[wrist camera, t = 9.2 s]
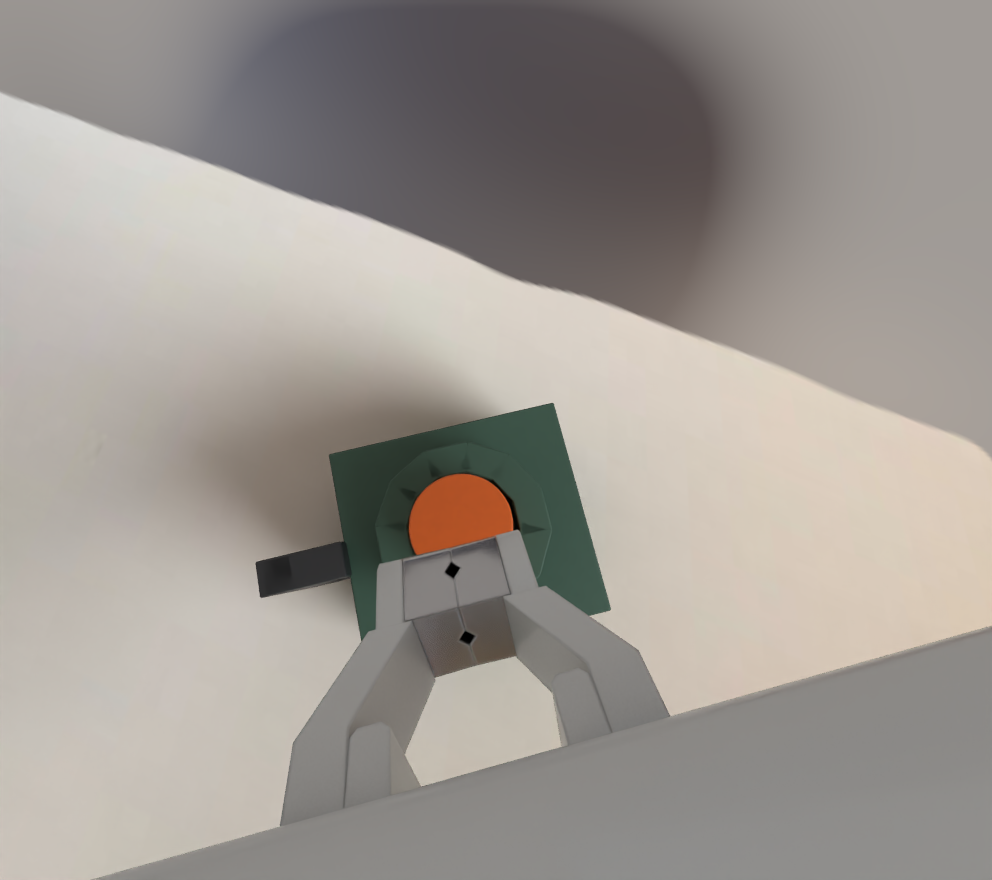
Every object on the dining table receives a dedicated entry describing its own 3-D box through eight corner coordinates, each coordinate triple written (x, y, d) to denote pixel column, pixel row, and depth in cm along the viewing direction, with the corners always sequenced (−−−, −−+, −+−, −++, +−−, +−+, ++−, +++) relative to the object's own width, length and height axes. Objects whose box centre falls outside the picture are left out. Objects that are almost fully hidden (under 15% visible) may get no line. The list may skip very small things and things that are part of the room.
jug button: (427, 586, 19) (420, 591, 17) (408, 493, 20) (399, 486, 17) (520, 563, 19) (524, 565, 17) (498, 472, 20) (499, 462, 18)
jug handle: (316, 586, 26) (259, 598, 19) (312, 559, 26) (254, 562, 20) (381, 570, 26) (346, 576, 20) (376, 543, 26) (340, 541, 20)
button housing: (401, 639, 27) (353, 687, 18) (371, 480, 29) (312, 444, 19) (577, 593, 28) (624, 616, 18) (536, 441, 30) (559, 387, 20)
